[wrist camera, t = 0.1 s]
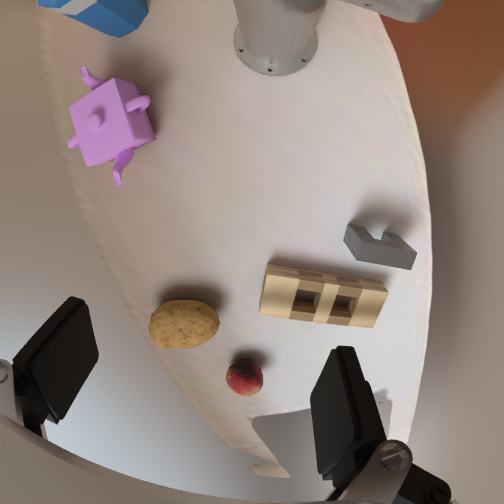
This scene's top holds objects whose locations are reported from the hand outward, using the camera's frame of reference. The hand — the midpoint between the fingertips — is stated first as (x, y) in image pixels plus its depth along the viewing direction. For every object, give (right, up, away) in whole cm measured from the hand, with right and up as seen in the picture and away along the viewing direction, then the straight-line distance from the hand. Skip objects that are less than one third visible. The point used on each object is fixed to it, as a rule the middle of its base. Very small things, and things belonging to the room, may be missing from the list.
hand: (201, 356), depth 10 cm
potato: (-10, -8, +44) cm, 46 cm away
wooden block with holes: (+15, -4, +41) cm, 43 cm away
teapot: (-19, +25, +30) cm, 44 cm away
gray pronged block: (+23, +6, +36) cm, 43 cm away
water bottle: (-20, +45, +22) cm, 54 cm away
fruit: (+1, -21, +49) cm, 53 cm away
